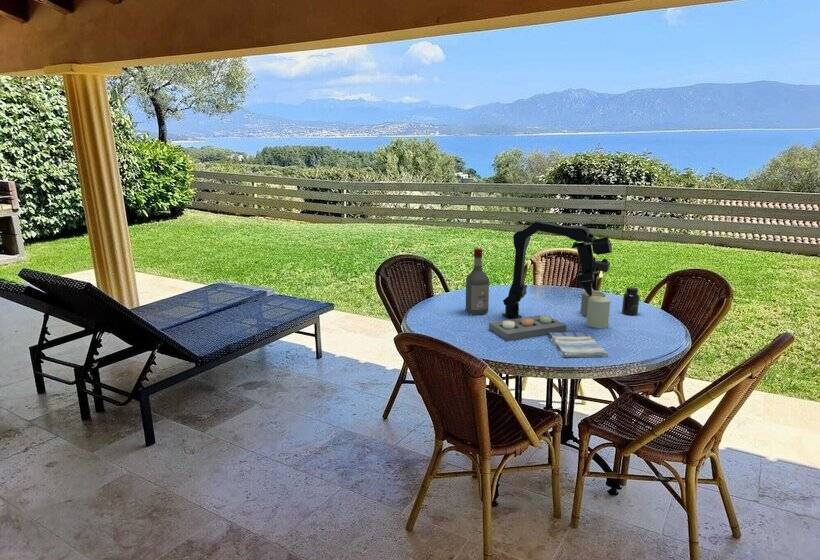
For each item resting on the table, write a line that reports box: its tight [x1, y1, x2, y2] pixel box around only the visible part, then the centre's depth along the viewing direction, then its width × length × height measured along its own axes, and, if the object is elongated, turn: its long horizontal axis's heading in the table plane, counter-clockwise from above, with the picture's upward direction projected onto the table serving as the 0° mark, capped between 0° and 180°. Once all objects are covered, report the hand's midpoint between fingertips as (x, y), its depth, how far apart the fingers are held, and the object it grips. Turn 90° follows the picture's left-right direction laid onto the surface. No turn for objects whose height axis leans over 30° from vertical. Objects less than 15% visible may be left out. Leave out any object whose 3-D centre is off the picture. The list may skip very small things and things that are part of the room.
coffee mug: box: [580, 290, 606, 318], centre depth 242 cm, size 13×10×10 cm
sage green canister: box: [585, 296, 612, 329], centre depth 227 cm, size 9×9×12 cm
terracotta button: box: [521, 317, 534, 327], centre depth 221 cm, size 5×5×3 cm
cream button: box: [502, 319, 515, 330], centre depth 218 cm, size 5×5×3 cm
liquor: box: [465, 248, 490, 316], centre depth 243 cm, size 9×9×30 cm
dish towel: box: [547, 331, 609, 358], centre depth 204 cm, size 17×24×3 cm
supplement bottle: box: [621, 286, 640, 316], centre depth 241 cm, size 7×7×12 cm
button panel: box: [488, 314, 567, 342], centre depth 221 cm, size 15×28×3 cm, turn 110°
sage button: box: [540, 314, 553, 324], centre depth 224 cm, size 5×5×3 cm
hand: (592, 293), depth 220 cm, fingers open, 9 cm apart
